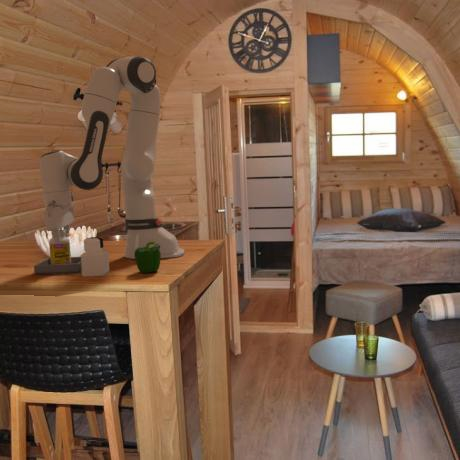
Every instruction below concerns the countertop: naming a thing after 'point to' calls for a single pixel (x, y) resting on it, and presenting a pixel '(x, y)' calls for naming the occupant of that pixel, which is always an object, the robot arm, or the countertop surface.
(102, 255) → the medicine bottle
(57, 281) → the countertop surface
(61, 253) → the supplement bottle
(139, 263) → the bell pepper
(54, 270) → the tray
